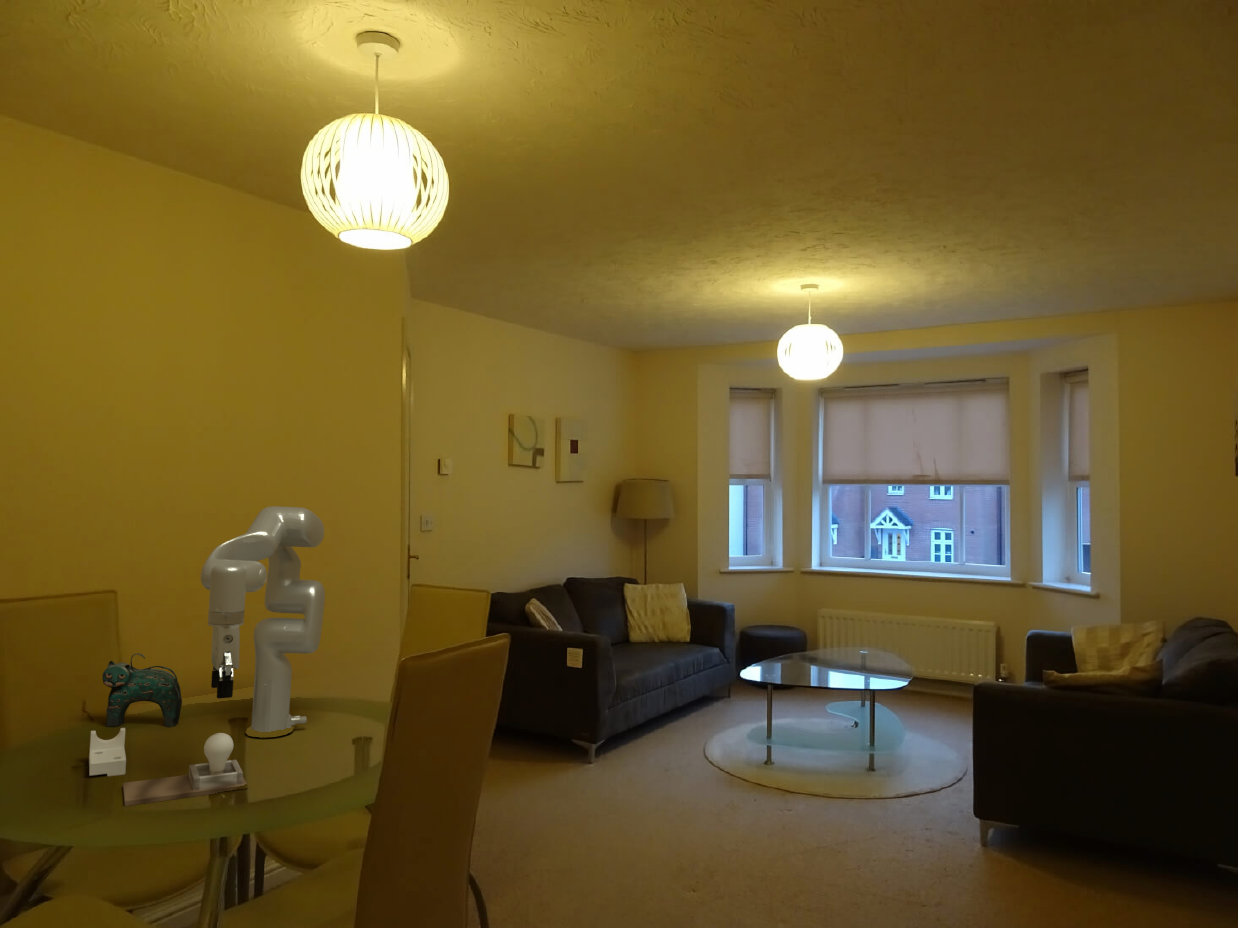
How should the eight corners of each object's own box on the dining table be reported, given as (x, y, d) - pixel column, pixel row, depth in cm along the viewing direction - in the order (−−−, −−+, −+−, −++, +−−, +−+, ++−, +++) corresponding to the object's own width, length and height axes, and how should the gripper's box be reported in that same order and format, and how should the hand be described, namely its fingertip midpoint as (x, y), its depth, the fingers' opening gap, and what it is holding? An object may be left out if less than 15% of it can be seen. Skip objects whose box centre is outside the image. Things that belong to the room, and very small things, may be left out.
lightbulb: (219, 788, 186) (223, 738, 186) (195, 784, 187) (198, 735, 188) (236, 778, 192) (240, 731, 192) (213, 775, 193) (216, 728, 194)
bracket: (88, 762, 201) (91, 730, 202) (122, 758, 205) (124, 727, 205) (89, 779, 190) (91, 746, 191) (125, 775, 194) (127, 742, 194)
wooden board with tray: (239, 772, 199) (240, 757, 199) (247, 789, 189) (248, 773, 189) (122, 787, 186) (124, 771, 186) (124, 805, 176) (126, 789, 176)
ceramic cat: (97, 728, 227) (102, 654, 227) (108, 721, 233) (113, 649, 234) (175, 728, 230) (180, 656, 230) (183, 722, 236) (188, 651, 237)
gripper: (249, 623, 187) (245, 700, 186) (238, 611, 201) (233, 682, 201) (213, 625, 183) (208, 703, 182) (203, 612, 197) (199, 684, 197)
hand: (221, 692), depth 192 cm, fingers open, 9 cm apart
